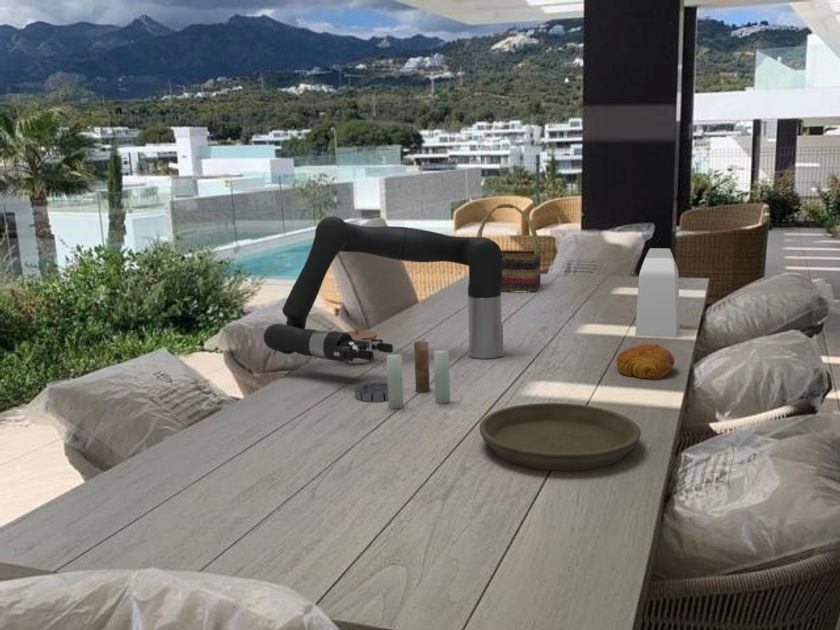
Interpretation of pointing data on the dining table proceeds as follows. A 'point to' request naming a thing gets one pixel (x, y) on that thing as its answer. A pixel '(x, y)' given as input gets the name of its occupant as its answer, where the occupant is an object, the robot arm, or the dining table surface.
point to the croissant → (645, 362)
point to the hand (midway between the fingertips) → (382, 352)
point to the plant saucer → (559, 436)
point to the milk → (658, 296)
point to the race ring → (366, 393)
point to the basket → (519, 261)
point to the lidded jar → (361, 335)
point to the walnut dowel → (421, 366)
